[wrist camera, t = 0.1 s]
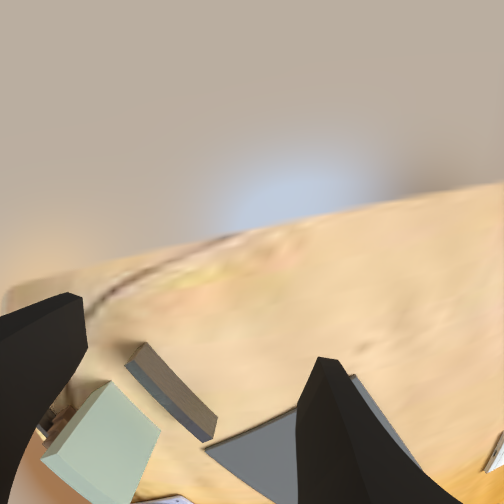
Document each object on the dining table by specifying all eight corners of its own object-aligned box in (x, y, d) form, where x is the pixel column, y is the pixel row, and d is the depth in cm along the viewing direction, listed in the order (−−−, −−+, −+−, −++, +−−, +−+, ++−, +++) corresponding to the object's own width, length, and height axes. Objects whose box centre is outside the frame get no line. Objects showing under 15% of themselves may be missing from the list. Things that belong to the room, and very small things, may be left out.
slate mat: (310, 521, 25) (310, 523, 24) (205, 448, 22) (204, 451, 22) (422, 470, 22) (423, 472, 22) (355, 374, 20) (356, 377, 20)
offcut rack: (97, 462, 24) (89, 477, 22) (44, 409, 23) (32, 423, 21) (217, 417, 21) (212, 438, 19) (146, 342, 20) (133, 359, 18)
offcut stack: (101, 452, 24) (84, 482, 19) (60, 411, 23) (36, 439, 18) (114, 447, 23) (96, 480, 19) (70, 405, 23) (46, 434, 18)
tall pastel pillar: (139, 439, 23) (104, 511, 14) (92, 392, 22) (40, 459, 13) (161, 430, 22) (127, 510, 13) (111, 380, 21) (56, 453, 12)
